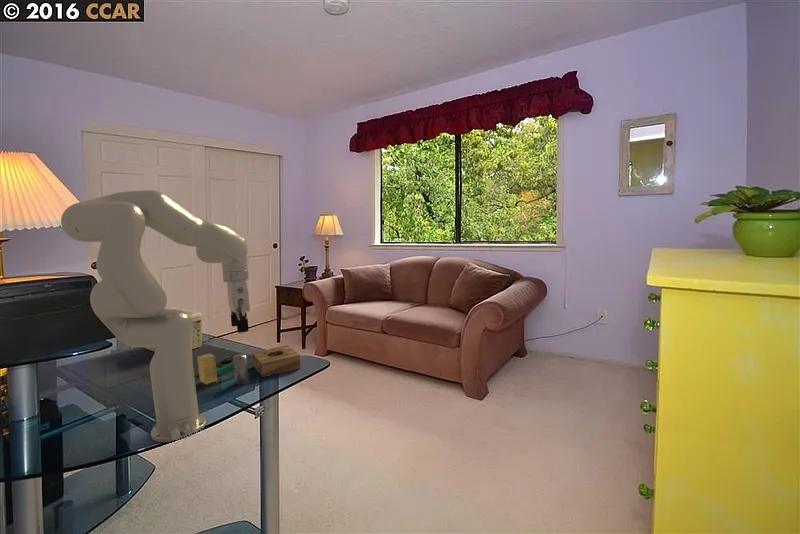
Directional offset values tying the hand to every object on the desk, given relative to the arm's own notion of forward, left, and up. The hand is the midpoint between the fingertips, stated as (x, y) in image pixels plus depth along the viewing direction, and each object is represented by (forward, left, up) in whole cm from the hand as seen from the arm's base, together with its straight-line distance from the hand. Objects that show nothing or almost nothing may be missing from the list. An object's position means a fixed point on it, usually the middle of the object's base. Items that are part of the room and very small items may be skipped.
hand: (239, 328), depth 132 cm
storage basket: (+56, +17, -18) cm, 61 cm away
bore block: (+6, -12, -18) cm, 22 cm away
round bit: (0, +1, -18) cm, 18 cm away
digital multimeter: (+17, +3, -19) cm, 25 cm away
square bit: (+7, +10, -18) cm, 21 cm away
